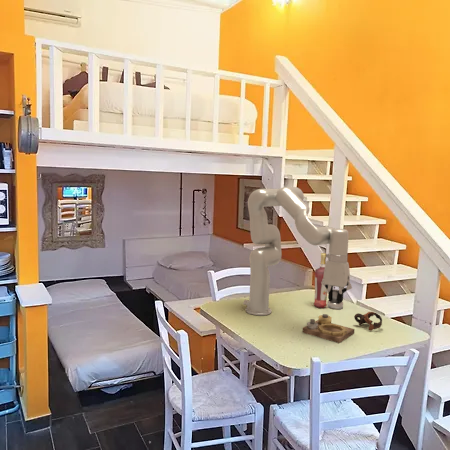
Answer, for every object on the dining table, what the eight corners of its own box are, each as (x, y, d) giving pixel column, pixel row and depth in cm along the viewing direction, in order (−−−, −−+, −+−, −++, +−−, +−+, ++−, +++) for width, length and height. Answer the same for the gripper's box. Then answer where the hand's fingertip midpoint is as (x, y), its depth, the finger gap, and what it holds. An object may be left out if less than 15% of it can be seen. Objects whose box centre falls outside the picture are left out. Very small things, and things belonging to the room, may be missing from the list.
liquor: (324, 309, 220) (327, 255, 217) (310, 307, 225) (314, 253, 221) (329, 306, 227) (333, 253, 223) (316, 303, 231) (319, 251, 227)
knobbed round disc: (324, 307, 183) (325, 290, 182) (331, 304, 188) (332, 287, 187) (339, 310, 179) (340, 293, 178) (345, 307, 184) (346, 290, 183)
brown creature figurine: (377, 325, 202) (384, 313, 197) (376, 340, 194) (384, 328, 190) (351, 316, 203) (357, 304, 199) (350, 331, 196) (357, 319, 191)
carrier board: (302, 332, 187) (303, 318, 187) (318, 323, 199) (319, 311, 198) (339, 343, 177) (340, 328, 176) (354, 333, 188) (355, 320, 188)
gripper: (315, 257, 183) (313, 299, 185) (353, 262, 173) (350, 307, 175) (323, 254, 189) (321, 296, 191) (360, 260, 179) (357, 303, 181)
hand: (335, 301), depth 183 cm, fingers closed on knobbed round disc, 3 cm apart
